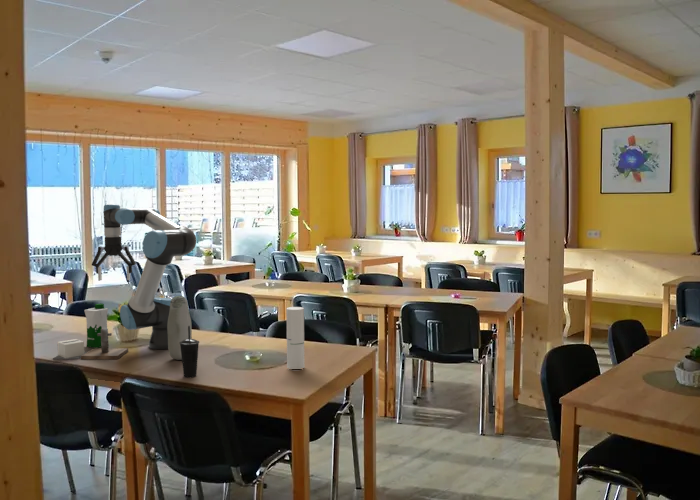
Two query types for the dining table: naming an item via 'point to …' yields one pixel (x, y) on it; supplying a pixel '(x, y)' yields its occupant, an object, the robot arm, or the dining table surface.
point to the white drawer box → (70, 348)
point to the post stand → (105, 349)
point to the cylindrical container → (295, 337)
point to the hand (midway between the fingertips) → (114, 280)
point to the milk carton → (95, 324)
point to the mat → (69, 357)
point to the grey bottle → (178, 325)
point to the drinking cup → (189, 356)
